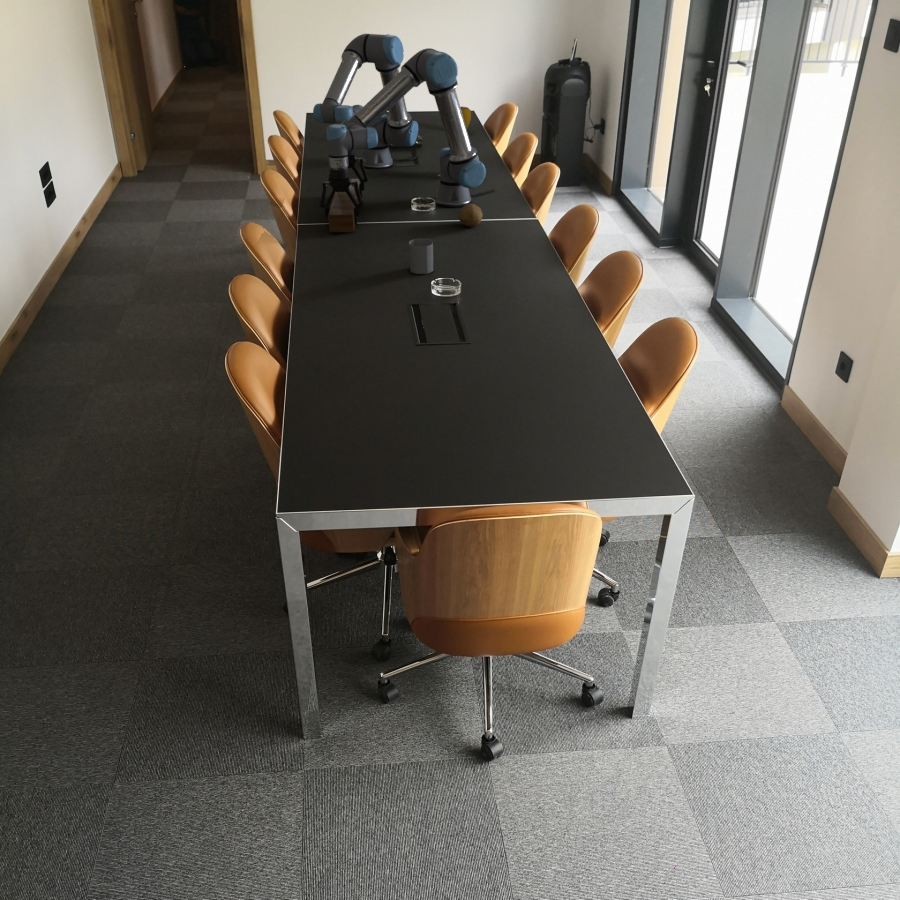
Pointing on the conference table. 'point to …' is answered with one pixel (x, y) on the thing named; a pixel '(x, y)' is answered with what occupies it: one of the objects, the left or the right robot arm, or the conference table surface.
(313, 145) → the conference table surface
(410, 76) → the right robot arm
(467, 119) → the yellow piece
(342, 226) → the wooden beam
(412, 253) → the cup
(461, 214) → the potato
